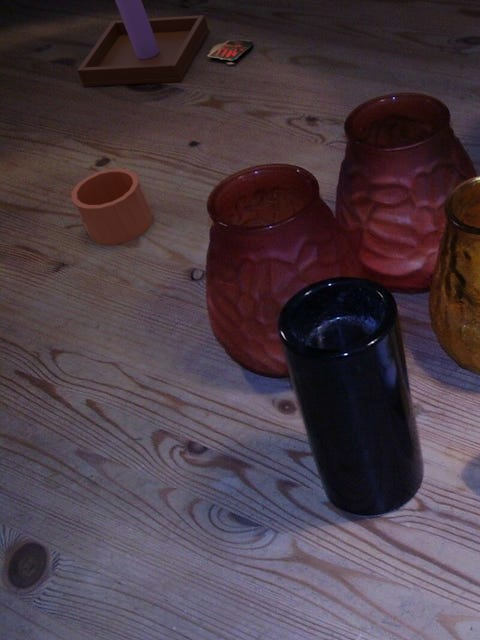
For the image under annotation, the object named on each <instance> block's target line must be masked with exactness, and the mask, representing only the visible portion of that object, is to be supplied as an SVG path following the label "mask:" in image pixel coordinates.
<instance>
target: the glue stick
mask: <svg viewBox="0 0 480 640" xmlns="http://www.w3.org/2000/svg"><path fill="white" fill-rule="evenodd" d="M114 1H115V4H116V7H117V9H118V12H119V14H120V17H121V20H123V22H124V25H125V27H126V30H127V33H128V35H129V38H130V41H131V43H132V46H133V48H134V51H135V54H136V56H137V58H139V59H149V58H152V57H154V56H156V55H157V54H158V53H159V48H158V45H157V42H156V39H155V37H154V34H153V31H152V28H151V26H150V23H149V20H148V19H149V17H148V15H147V12H146V9H145V7H144V4H143V1H142V0H114Z"/></svg>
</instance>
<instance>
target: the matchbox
mask: <svg viewBox="0 0 480 640" xmlns="http://www.w3.org/2000/svg"><path fill="white" fill-rule="evenodd" d="M253 45H254V40H248V39H240V38H237V39H234V40H233V39H232V40H229V39H228V40H227V41H226V42H225V41H224V43H217V44H216V45H213V46H212V48H211V49H210V51H209V54H207V57H208V58H215V59H220V60H227V61H229V62H227V61H226V62H225V64H227V65H228V66H230V65H235V66H236V63H234V62H232V61H234V60H237V59H239V57H240V56H242V54H244V53H245V54H247V52H246V51H248V50H249V49H250V48H251V47H252V46H253Z"/></svg>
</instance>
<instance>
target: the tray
mask: <svg viewBox="0 0 480 640" xmlns="http://www.w3.org/2000/svg"><path fill="white" fill-rule="evenodd" d="M148 20H149V23H150V26H151V28H152V31H153V34H154V37H155V39H156V42H157V45H158V48H159V53H158V54H157V55H156V56H154V57H152V58H149V59H139V58H137V56H136V54H135V51H134V48H133V46H132V43H131V41H130V38H129V35H128V33H127V30H126V27H125V25H124V22H123V20H122V19H120V20H119V19H118V20H117V19H115V20H111V22H109V23H110V24H109V25H108V26H107V27H106V29H105V31H104V32H103V33H102V35H101V36H100V37H99V39H98V40H97V42H95V44H94V46H93V47H92V49H91V50H90V51H89V53H88V55H86V57H85V59H84V60H83V61H82V63H81V64H80V65H79V67H78V69H77V70H76V71H77V74H78V76H79V78H80V80H81V82H82V85H83V87H84V88H87V87H105V86H123V85H126V86H127V85H143V84H162V83H163V84H164V83H181V82H182V80H183V79H184V77H185V76H186V73H187V72H188V70H189V69H190V67H191V64H192V63H193V61H194V59H195V58H196V56H197V54H198V52H199V50H200V49H201V47H202V45H203V43H204V42H205V40H206V38H207V36H208V34H209V33H210V29H209V26H208V23H207V20H206V17H205V15H204V14H202V15H185V16H169V17H153V18H151V17H150V18H149V17H148Z"/></svg>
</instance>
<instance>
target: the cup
mask: <svg viewBox="0 0 480 640" xmlns="http://www.w3.org/2000/svg"><path fill="white" fill-rule="evenodd" d="M147 197H148V196H147V195H146V192H145V190H144V188H143V185H142V183H141V180H140V178H139V176H138V175H137V174H136V173H135V172H134V171H133V170H130V169H126V168H123V167H121V168H108V169H107V168H106V169H103V170H100V171H97V172H94V173H93V174H91V175H87V177H84V178H83V179H82V180H81V181H80V182H79V183H77V184H76V185H75V186H74V187H73V190H72V191H71V202H72V204H73V206H74V208H75V210H76V212H77V214H78V216H79V219H80V221H81V223H82V224H83V227H84V229H85V231H86V233H87V235H88V237H90V239H91V241H93V242H94V243H96V244H98V245H102V246H116V245H122V244H125V243H129V242H131V241H134V240H135V239H138V238H139V237H140V236H142V235H144V234H145V233H146V232H147V231H148V230H149V229H150V228H151V226H152V225H153V222H154V219H155V218H154V212H153V209H152V206H151V205H150V202H149V200H148V198H147Z"/></svg>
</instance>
